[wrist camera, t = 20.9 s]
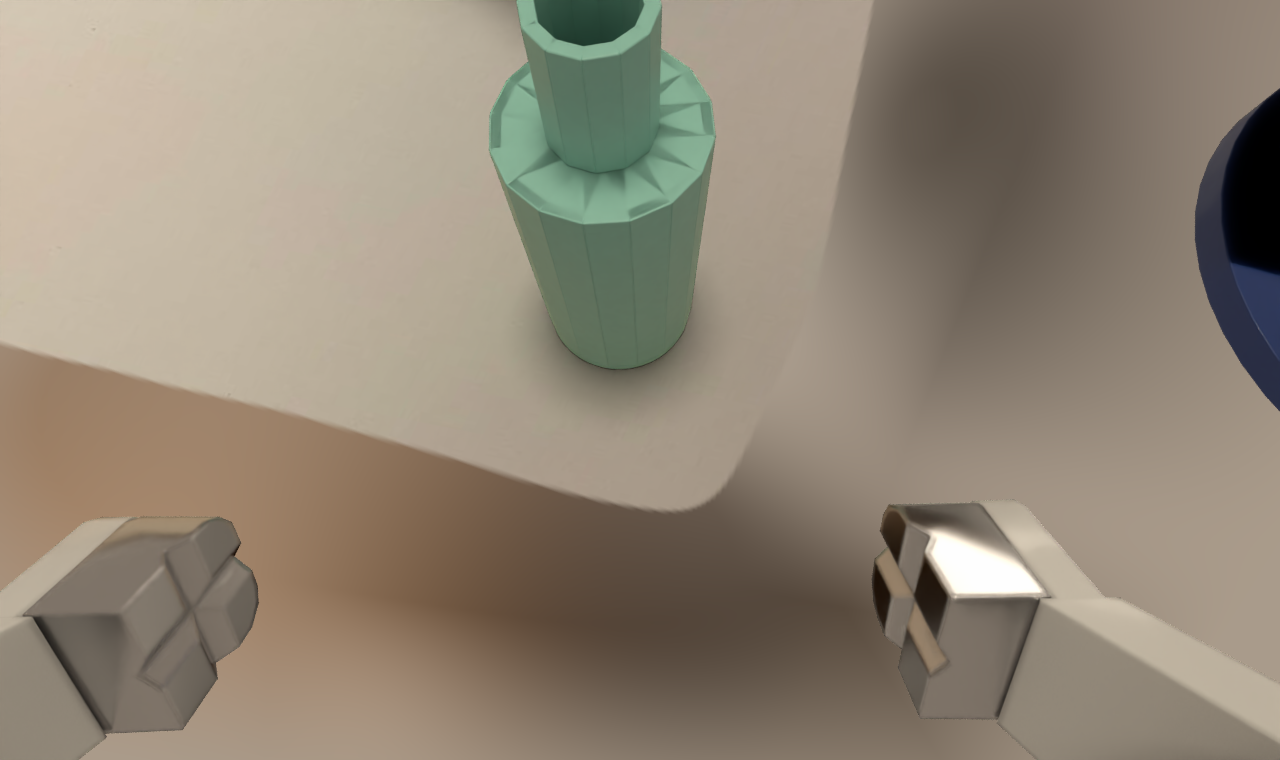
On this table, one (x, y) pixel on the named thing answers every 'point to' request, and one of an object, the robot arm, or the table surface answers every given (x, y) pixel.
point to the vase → (606, 174)
